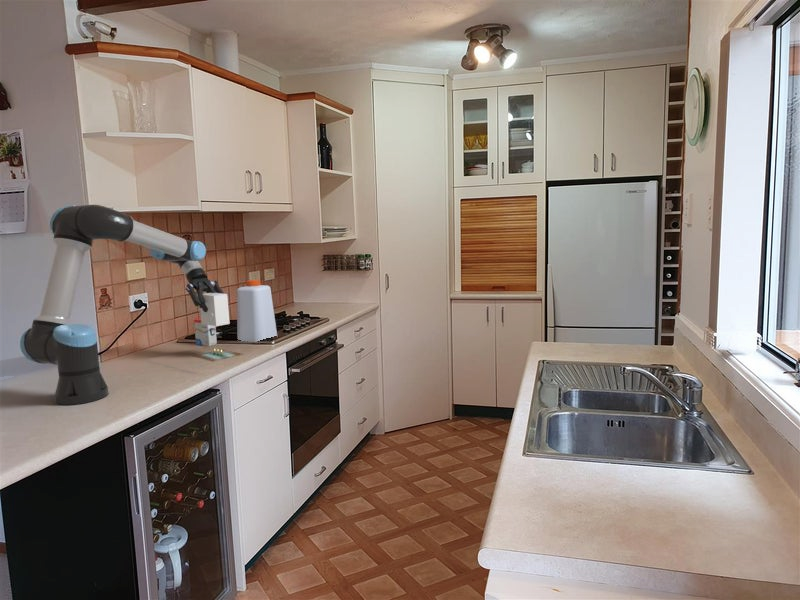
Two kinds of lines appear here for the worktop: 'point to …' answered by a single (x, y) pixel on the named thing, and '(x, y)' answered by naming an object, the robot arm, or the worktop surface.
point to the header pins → (217, 352)
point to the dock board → (216, 357)
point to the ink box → (204, 333)
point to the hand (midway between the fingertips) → (219, 315)
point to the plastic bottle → (255, 312)
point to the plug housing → (216, 309)
